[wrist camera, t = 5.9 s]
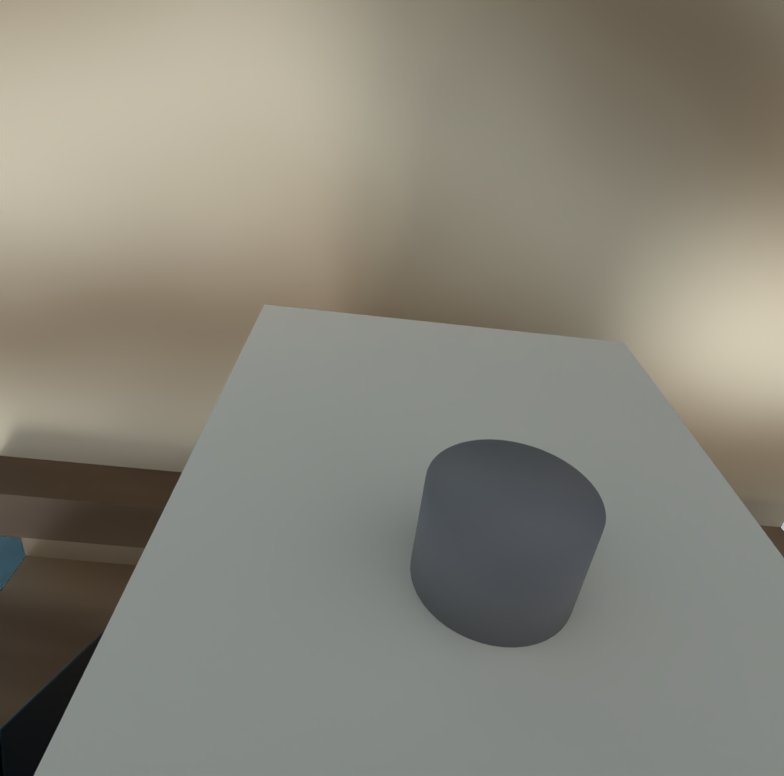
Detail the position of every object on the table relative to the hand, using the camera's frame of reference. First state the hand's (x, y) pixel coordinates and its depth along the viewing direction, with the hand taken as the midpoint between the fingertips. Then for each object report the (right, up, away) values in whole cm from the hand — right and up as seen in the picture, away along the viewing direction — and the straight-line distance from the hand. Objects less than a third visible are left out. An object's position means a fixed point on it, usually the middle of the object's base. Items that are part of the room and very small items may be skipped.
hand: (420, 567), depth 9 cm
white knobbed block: (0, +1, +1) cm, 2 cm away
